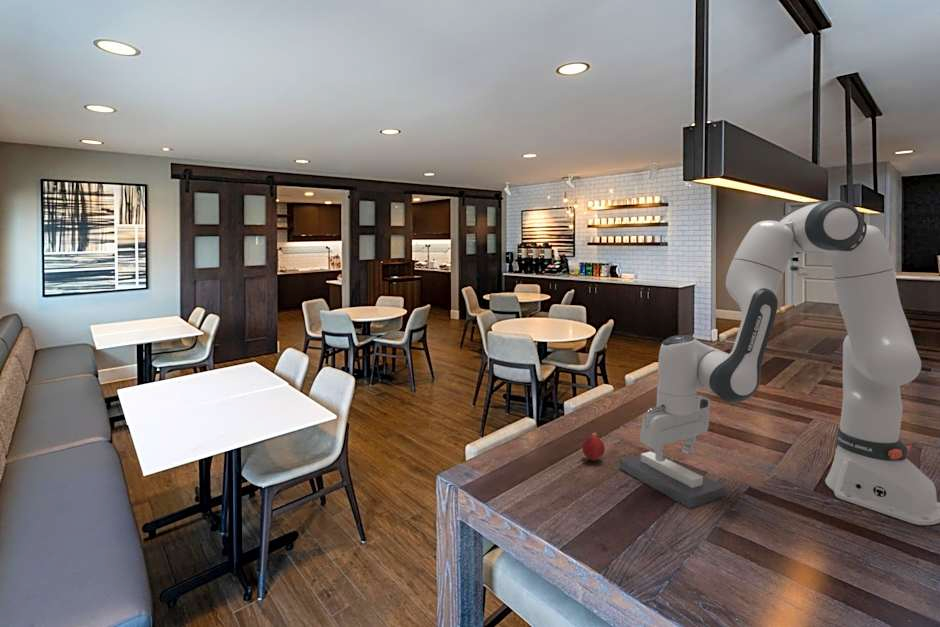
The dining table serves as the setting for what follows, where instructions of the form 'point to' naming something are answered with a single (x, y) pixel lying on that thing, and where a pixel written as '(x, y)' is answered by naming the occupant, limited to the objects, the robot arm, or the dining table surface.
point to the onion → (593, 447)
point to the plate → (673, 483)
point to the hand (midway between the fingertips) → (673, 456)
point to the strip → (672, 470)
